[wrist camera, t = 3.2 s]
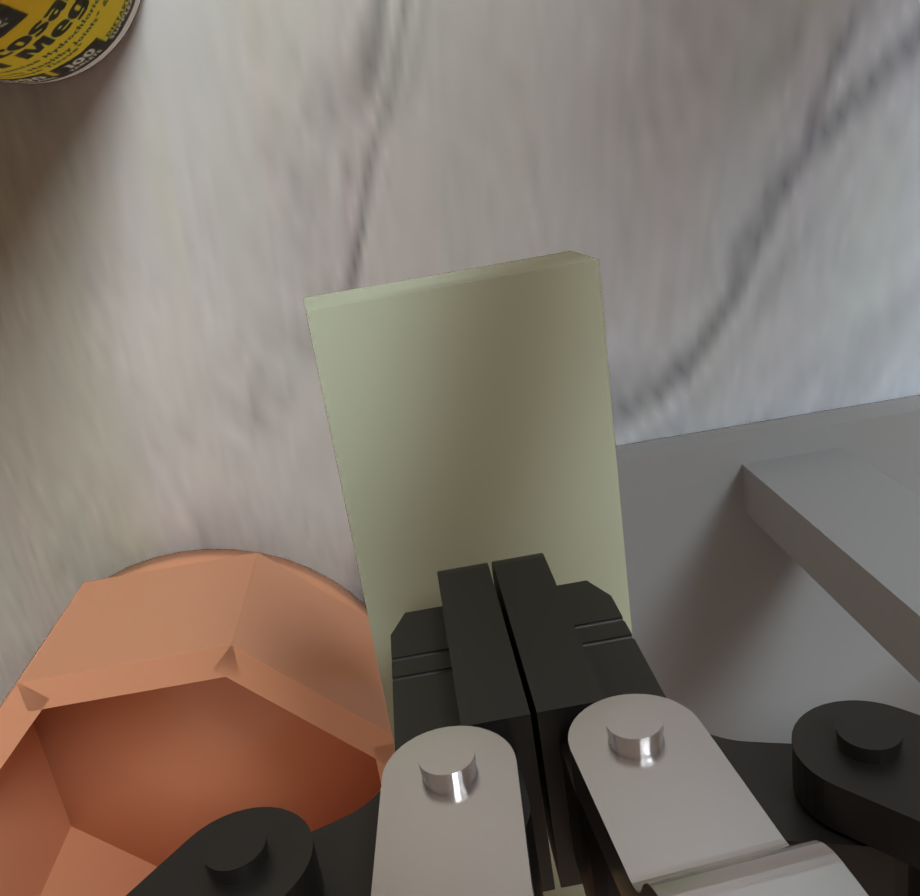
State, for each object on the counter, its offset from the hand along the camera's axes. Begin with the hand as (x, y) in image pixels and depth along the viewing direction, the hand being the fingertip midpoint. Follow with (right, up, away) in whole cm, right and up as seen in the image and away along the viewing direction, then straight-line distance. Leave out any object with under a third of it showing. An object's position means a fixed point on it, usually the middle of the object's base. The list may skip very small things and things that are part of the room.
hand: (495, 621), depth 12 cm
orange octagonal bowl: (-8, -6, +16) cm, 19 cm away
